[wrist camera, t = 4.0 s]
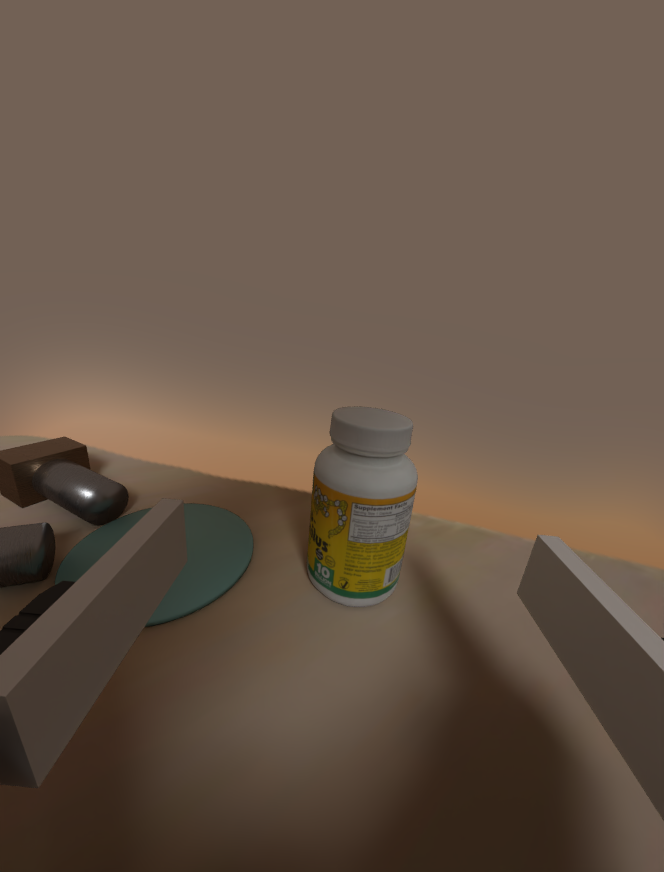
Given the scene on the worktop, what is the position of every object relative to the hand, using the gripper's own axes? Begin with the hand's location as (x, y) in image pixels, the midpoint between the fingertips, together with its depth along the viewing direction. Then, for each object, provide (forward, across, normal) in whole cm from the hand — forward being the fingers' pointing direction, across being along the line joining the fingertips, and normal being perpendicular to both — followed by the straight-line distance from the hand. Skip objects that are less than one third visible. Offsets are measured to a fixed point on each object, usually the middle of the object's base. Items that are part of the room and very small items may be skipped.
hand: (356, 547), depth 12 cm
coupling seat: (+5, -10, -6) cm, 13 cm away
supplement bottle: (+5, +1, -6) cm, 8 cm away
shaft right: (+10, -20, -6) cm, 23 cm away
